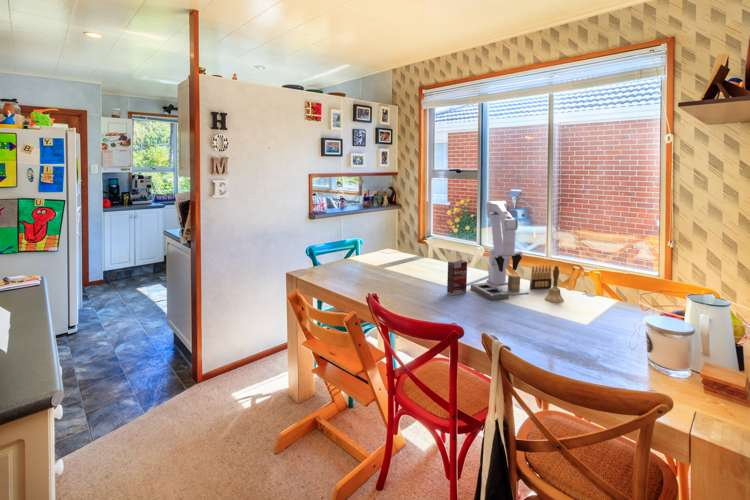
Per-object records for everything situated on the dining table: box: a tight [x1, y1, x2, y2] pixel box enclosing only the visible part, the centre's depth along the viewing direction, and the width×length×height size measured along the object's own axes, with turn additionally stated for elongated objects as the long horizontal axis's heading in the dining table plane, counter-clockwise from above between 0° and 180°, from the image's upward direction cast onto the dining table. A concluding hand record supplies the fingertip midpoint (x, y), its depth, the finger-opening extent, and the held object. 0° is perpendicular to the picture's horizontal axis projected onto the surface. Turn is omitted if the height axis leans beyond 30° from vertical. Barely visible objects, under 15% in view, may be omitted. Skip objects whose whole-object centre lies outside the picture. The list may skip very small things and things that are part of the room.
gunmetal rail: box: [470, 282, 510, 302], centre depth 203 cm, size 20×9×2 cm, turn 15°
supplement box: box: [446, 259, 468, 296], centre depth 204 cm, size 9×5×16 cm, turn 117°
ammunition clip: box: [529, 264, 552, 291], centre depth 209 cm, size 11×2×12 cm, turn 98°
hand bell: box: [543, 265, 565, 304], centre depth 191 cm, size 8×8×16 cm
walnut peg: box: [507, 274, 521, 292], centre depth 205 cm, size 4×4×8 cm
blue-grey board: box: [500, 287, 529, 297], centre depth 206 cm, size 10×10×1 cm
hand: (507, 270), depth 205 cm, fingers open, 7 cm apart
